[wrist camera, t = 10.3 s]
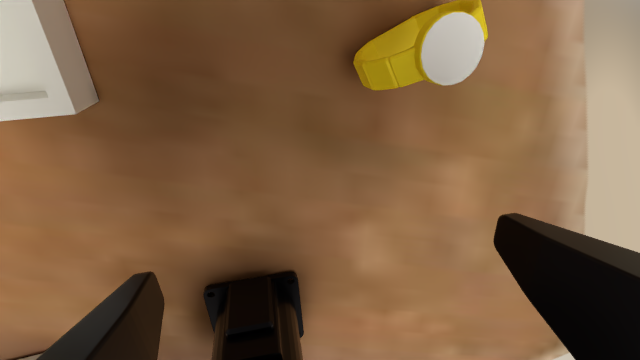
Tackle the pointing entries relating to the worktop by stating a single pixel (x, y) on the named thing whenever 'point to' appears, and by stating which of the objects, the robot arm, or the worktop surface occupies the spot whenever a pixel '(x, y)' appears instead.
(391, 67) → the watch
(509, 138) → the worktop surface
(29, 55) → the tray
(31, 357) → the supplement box
